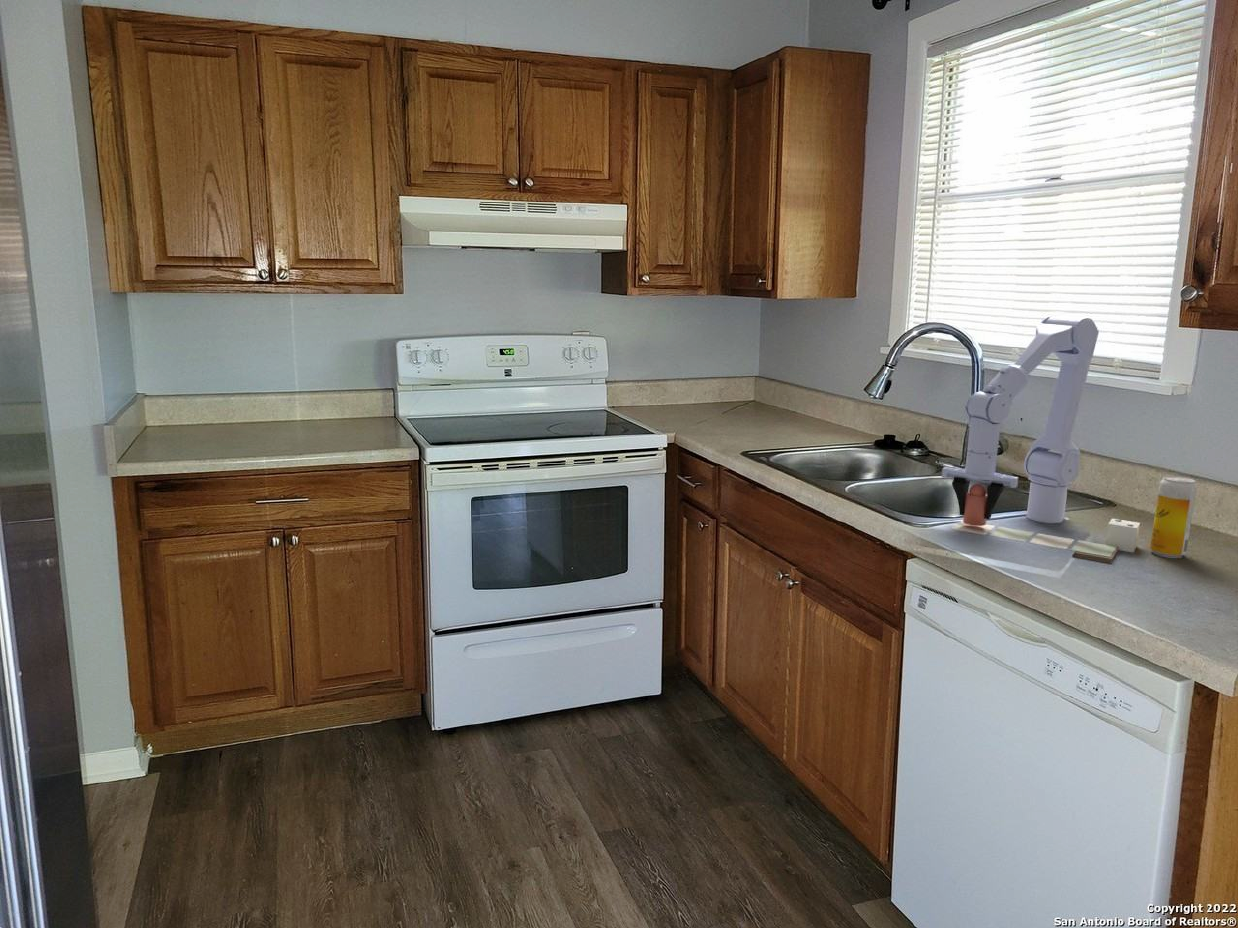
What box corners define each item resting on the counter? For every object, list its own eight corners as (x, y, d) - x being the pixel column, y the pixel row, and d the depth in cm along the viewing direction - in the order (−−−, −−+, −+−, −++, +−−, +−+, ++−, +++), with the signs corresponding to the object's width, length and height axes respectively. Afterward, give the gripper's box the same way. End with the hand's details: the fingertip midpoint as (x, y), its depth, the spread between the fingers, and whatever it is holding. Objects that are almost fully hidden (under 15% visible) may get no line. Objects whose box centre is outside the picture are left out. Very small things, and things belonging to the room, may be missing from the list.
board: (961, 523, 199) (961, 519, 199) (1118, 550, 182) (1119, 546, 182) (947, 533, 191) (948, 529, 191) (1110, 563, 174) (1111, 558, 174)
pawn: (966, 518, 195) (970, 480, 194) (988, 522, 193) (992, 483, 191) (960, 523, 192) (964, 484, 190) (982, 527, 189) (987, 487, 188)
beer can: (1152, 547, 185) (1164, 474, 182) (1187, 554, 182) (1200, 479, 178) (1146, 554, 181) (1158, 478, 178) (1182, 561, 177) (1194, 484, 174)
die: (1108, 542, 189) (1112, 518, 187) (1136, 547, 186) (1140, 522, 185) (1104, 547, 185) (1108, 523, 183) (1133, 552, 182) (1137, 527, 181)
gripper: (940, 449, 190) (933, 514, 193) (1015, 459, 182) (1007, 526, 185) (950, 444, 196) (943, 507, 199) (1023, 454, 188) (1015, 519, 191)
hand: (975, 516), depth 192 cm, fingers closed on pawn, 4 cm apart
